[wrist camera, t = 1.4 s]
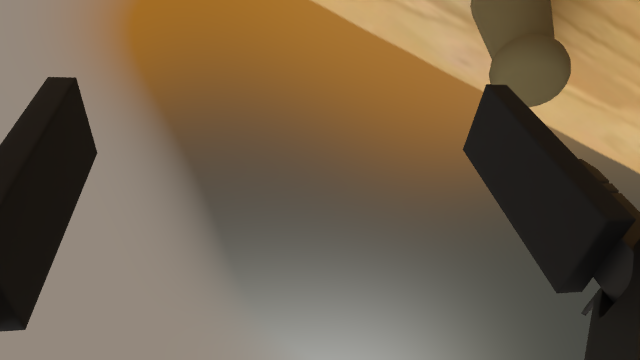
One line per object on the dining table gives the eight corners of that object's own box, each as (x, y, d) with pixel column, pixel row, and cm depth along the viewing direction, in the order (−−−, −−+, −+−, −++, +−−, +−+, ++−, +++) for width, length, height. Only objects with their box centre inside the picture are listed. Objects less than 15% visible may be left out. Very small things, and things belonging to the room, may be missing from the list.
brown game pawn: (455, 2, 38) (467, 90, 31) (521, -54, 33) (551, 34, 27) (498, 43, 40) (518, 132, 34) (564, -4, 36) (601, 87, 30)
